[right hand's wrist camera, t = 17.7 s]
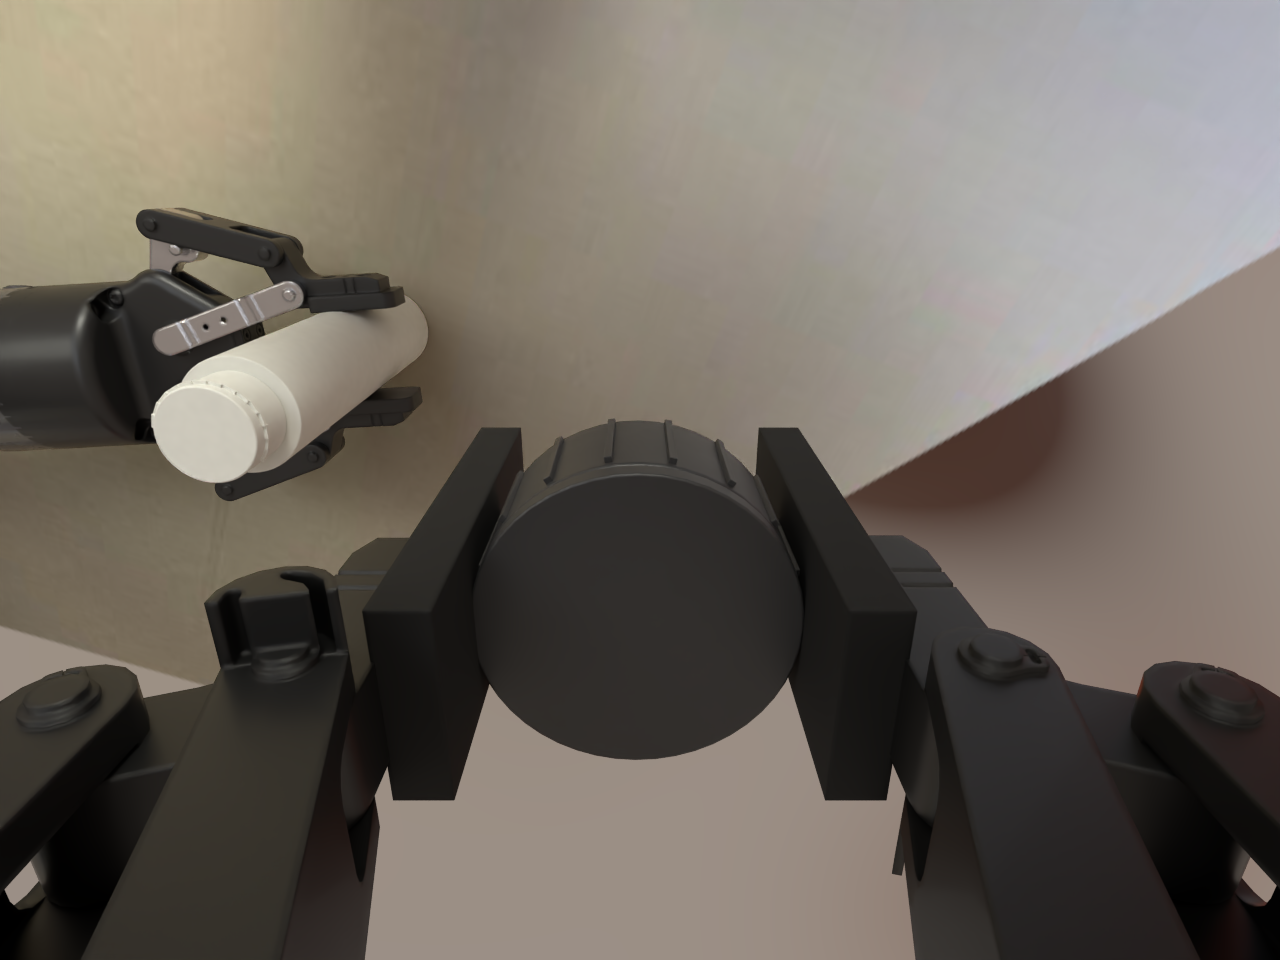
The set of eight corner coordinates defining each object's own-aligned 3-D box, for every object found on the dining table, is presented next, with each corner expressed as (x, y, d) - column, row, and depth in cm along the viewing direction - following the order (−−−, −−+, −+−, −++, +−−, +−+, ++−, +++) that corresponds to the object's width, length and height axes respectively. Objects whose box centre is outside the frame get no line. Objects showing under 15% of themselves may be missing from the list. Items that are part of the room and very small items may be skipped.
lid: (438, 572, 12) (396, 654, 10) (610, 352, 11) (603, 393, 9) (657, 711, 14) (661, 813, 11) (837, 528, 12) (882, 602, 10)
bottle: (434, 302, 39) (278, 392, 22) (421, 374, 41) (266, 511, 24) (357, 280, 39) (138, 355, 22) (347, 354, 40) (134, 478, 23)
